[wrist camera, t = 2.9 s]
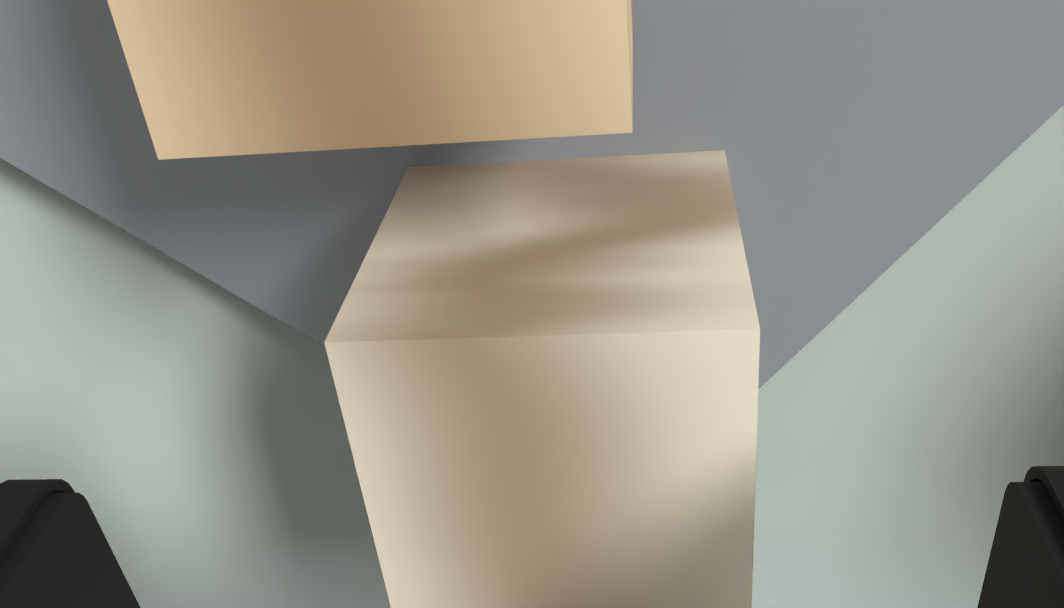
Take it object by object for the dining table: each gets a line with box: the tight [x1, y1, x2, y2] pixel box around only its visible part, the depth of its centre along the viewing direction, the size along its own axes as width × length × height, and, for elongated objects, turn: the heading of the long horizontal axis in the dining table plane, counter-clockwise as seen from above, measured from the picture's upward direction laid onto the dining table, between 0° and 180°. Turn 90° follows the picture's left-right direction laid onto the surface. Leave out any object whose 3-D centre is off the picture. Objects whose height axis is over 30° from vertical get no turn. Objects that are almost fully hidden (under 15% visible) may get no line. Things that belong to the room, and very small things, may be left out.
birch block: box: [324, 150, 760, 608], centre depth 14 cm, size 5×5×5 cm
